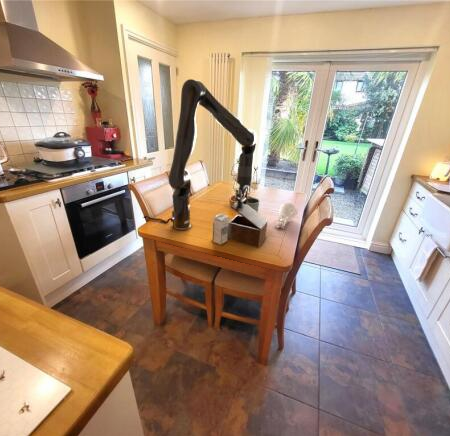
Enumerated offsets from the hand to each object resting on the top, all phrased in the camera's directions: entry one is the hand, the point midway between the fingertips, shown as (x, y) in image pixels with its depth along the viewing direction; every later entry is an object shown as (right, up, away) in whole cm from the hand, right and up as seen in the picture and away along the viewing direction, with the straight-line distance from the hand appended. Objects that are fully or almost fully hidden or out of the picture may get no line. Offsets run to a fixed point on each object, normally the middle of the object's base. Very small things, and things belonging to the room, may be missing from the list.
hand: (242, 205), depth 121 cm
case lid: (+4, -5, 0) cm, 6 cm away
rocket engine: (+26, -9, +26) cm, 38 cm away
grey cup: (+7, -6, +31) cm, 32 cm away
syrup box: (-11, -19, +2) cm, 22 cm away
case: (+3, -17, +6) cm, 19 cm away
